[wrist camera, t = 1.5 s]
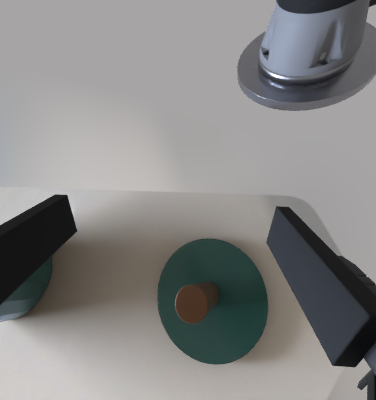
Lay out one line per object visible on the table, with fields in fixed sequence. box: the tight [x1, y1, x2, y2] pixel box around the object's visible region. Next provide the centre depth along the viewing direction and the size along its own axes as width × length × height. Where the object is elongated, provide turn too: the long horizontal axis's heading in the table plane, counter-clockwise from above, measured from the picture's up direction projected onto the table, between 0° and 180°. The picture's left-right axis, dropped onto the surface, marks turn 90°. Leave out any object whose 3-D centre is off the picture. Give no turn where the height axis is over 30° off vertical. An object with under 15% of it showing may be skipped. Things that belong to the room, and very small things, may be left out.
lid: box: [157, 239, 268, 364], centre depth 19 cm, size 14×14×10 cm
